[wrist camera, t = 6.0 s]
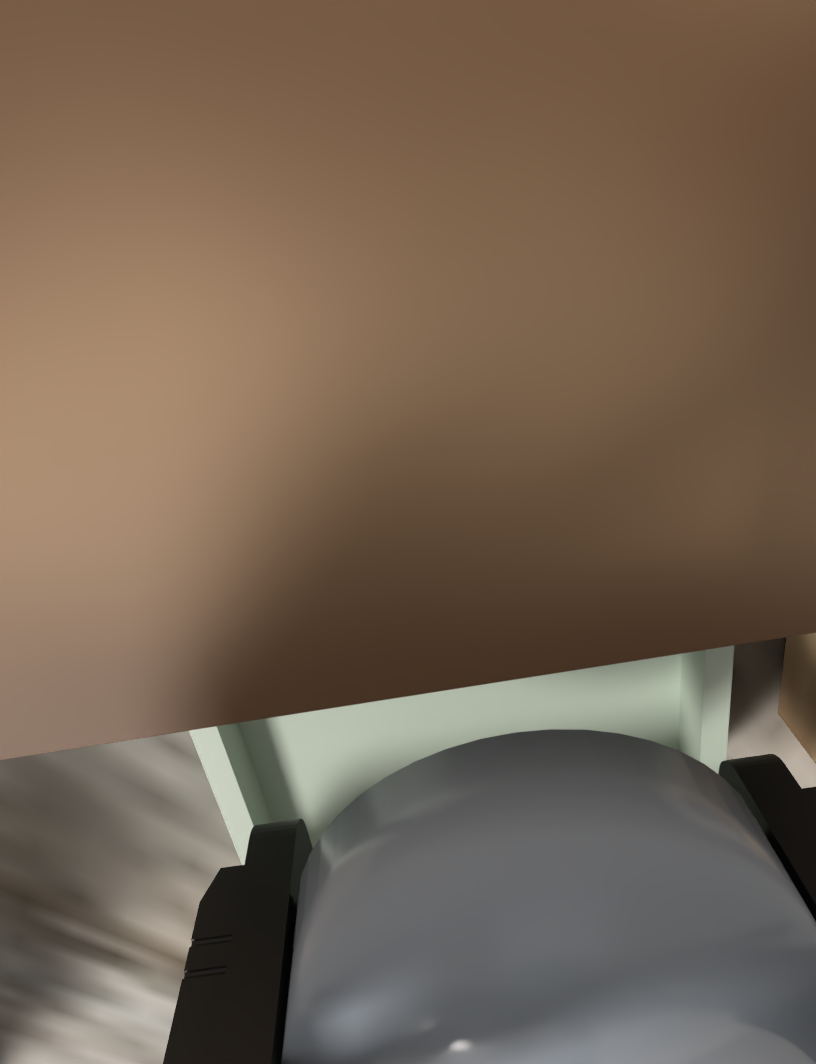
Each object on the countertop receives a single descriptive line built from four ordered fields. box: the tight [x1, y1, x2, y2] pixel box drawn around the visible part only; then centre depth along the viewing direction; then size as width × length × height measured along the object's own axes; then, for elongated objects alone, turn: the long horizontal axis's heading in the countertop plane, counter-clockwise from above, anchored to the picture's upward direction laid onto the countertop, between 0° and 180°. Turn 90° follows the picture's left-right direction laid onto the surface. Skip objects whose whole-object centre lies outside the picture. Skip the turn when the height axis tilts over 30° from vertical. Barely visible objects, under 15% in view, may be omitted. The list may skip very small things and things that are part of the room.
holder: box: [0, 0, 816, 760], centre depth 8 cm, size 12×12×6 cm
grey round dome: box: [281, 729, 816, 1064], centre depth 9 cm, size 6×6×2 cm
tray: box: [189, 646, 734, 865], centre depth 12 cm, size 12×10×6 cm
